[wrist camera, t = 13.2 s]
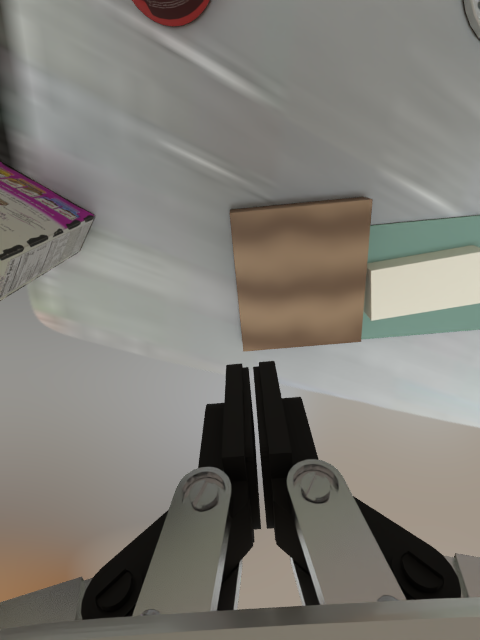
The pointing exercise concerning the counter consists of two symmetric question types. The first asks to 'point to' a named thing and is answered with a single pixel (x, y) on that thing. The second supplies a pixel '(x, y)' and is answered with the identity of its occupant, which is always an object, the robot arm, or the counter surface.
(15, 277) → the candy bar box
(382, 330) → the mat
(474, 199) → the counter surface
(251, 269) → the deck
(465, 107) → the counter surface
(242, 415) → the robot arm
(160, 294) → the counter surface
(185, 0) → the canned food
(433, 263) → the tile
